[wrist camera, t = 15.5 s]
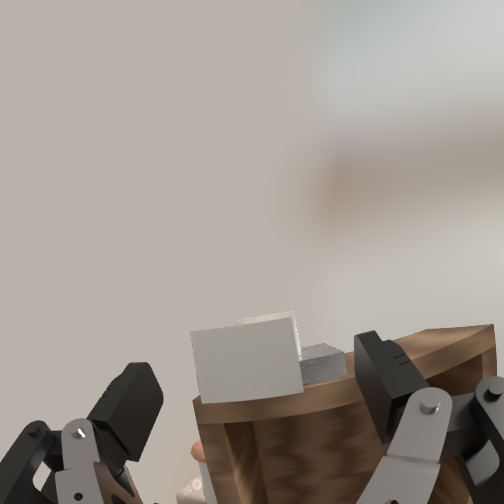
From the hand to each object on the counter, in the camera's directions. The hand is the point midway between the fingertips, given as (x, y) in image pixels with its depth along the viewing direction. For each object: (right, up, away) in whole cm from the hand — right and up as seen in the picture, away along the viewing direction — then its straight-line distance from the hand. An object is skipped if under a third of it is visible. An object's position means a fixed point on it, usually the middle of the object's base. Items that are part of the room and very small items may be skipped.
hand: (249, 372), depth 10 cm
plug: (+1, -4, +9) cm, 10 cm away
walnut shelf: (+14, -36, +5) cm, 39 cm away
